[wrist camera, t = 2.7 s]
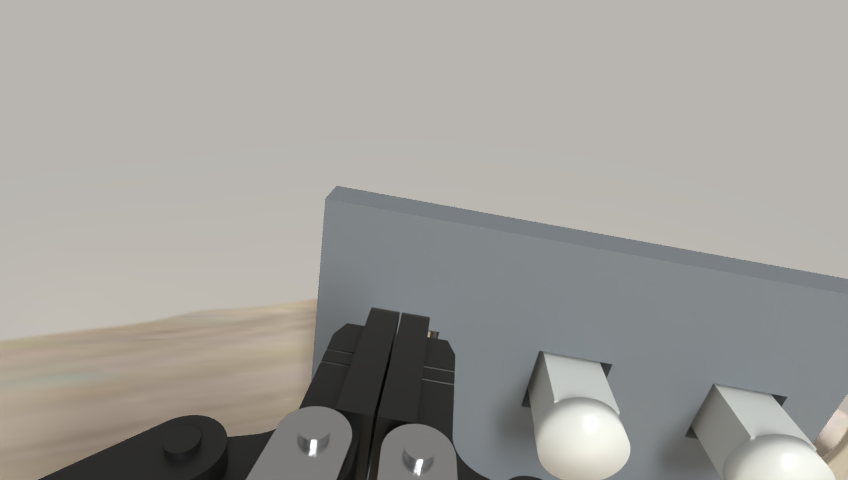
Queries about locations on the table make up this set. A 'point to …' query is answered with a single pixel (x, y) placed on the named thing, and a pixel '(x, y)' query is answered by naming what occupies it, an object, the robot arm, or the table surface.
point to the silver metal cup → (838, 458)
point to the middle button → (576, 419)
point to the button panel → (583, 324)
